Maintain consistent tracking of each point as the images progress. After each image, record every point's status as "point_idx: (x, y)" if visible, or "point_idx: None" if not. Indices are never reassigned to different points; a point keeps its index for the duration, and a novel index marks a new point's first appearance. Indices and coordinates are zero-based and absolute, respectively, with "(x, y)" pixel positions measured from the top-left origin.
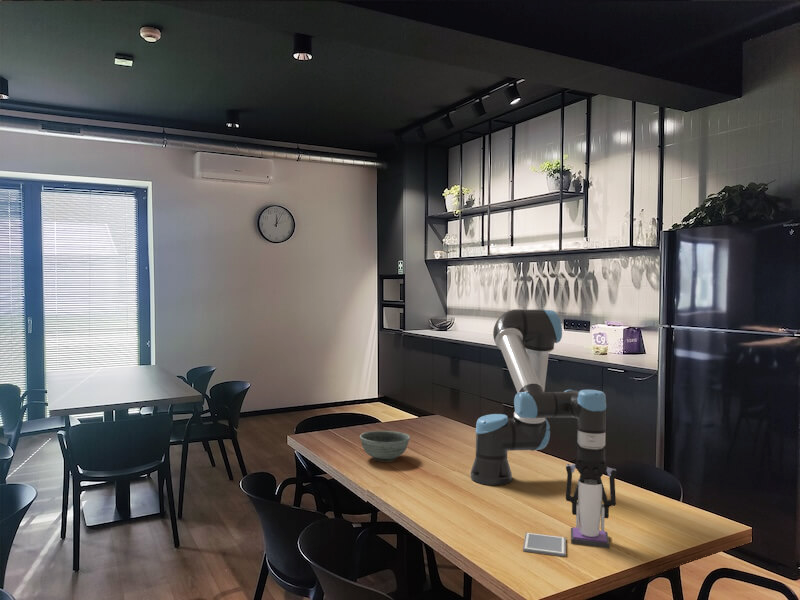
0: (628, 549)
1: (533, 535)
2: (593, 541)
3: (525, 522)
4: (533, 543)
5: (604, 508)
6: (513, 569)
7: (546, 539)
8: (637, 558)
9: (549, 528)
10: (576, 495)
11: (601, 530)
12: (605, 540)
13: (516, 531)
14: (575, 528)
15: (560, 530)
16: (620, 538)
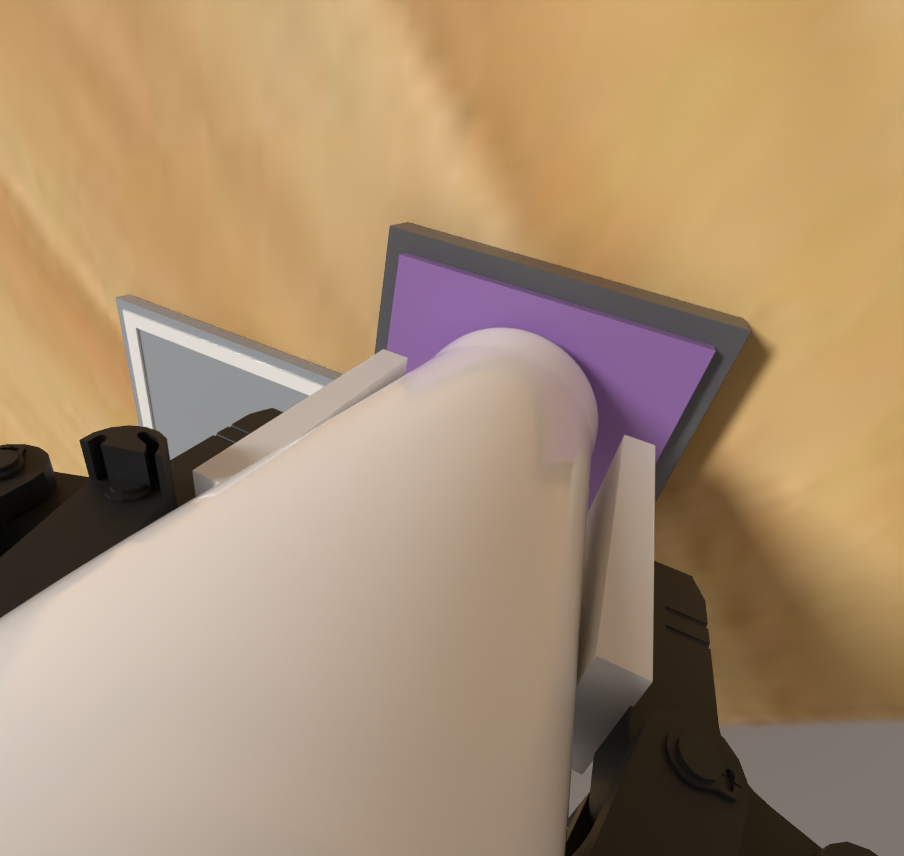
0: (787, 574)
1: (162, 345)
2: None
3: (73, 34)
4: (180, 448)
5: (582, 762)
6: None
7: (233, 405)
8: (761, 681)
9: (248, 159)
10: None
11: (587, 516)
12: None
13: (75, 244)
14: (416, 285)
15: (328, 198)
16: (877, 376)
